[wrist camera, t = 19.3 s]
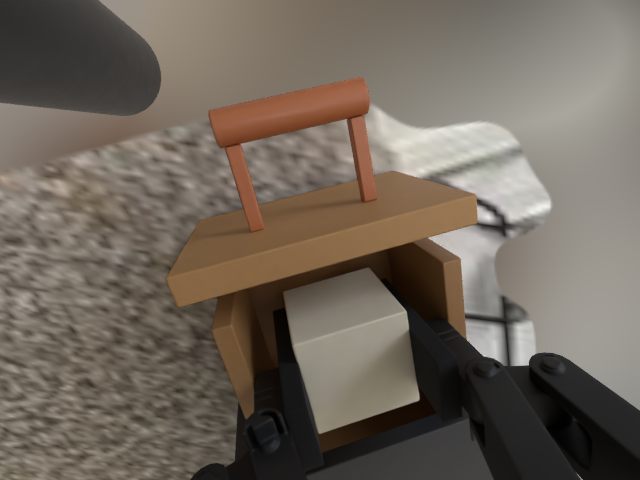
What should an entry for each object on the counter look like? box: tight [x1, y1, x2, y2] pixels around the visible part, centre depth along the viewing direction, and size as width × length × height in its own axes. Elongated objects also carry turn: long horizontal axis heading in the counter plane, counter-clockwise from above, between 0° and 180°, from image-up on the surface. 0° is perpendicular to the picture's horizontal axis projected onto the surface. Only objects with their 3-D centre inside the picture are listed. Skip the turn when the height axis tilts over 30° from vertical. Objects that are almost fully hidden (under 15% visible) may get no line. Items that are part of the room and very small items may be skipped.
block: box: [283, 268, 420, 434], centre depth 16 cm, size 5×5×5 cm
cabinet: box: [235, 401, 494, 480], centre depth 21 cm, size 15×13×10 cm
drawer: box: [166, 77, 478, 453], centre depth 17 cm, size 18×11×8 cm, turn 13°
